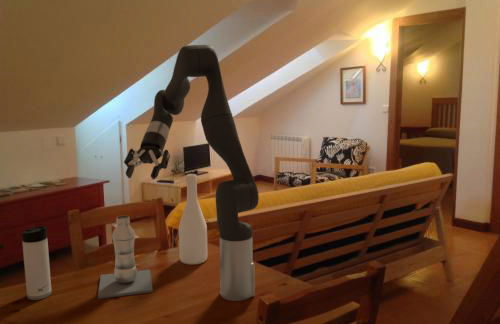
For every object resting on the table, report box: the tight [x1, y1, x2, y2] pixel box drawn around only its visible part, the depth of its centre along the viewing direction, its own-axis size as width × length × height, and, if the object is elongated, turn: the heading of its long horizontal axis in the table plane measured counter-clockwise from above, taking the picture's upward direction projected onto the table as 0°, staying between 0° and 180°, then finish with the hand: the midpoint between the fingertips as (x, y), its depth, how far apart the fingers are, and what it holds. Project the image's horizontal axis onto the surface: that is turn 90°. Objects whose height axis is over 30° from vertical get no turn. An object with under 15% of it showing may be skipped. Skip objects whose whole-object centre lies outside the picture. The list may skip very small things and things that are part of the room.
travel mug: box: [21, 225, 52, 301], centre depth 120 cm, size 6×7×20 cm
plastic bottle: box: [111, 215, 138, 283], centre depth 127 cm, size 6×7×20 cm
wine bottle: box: [178, 173, 208, 266], centre depth 145 cm, size 10×10×30 cm
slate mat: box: [97, 269, 153, 300], centre depth 129 cm, size 15×15×1 cm
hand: (140, 177), depth 135 cm, fingers open, 8 cm apart
